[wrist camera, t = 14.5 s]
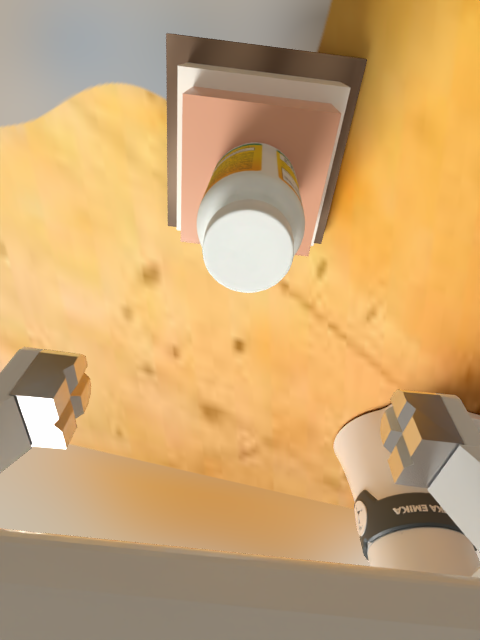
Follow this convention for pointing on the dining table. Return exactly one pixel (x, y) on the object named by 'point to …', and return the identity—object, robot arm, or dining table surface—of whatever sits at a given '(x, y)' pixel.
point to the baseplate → (262, 61)
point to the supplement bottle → (251, 218)
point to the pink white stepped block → (255, 132)
